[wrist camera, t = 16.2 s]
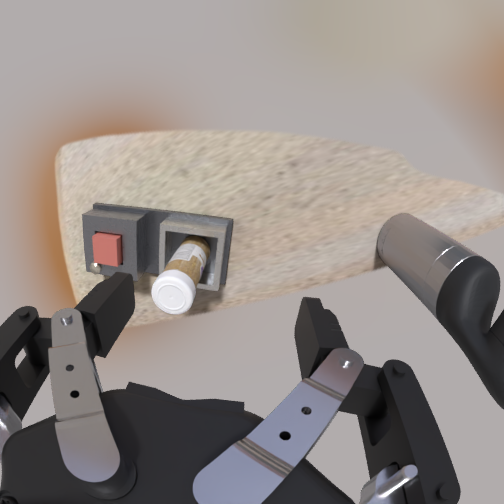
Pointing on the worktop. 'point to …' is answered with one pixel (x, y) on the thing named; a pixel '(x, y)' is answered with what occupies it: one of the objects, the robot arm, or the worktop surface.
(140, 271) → the grey push button box
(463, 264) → the robot arm
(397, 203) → the worktop surface
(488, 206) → the worktop surface
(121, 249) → the button
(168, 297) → the sprinkles bottle
